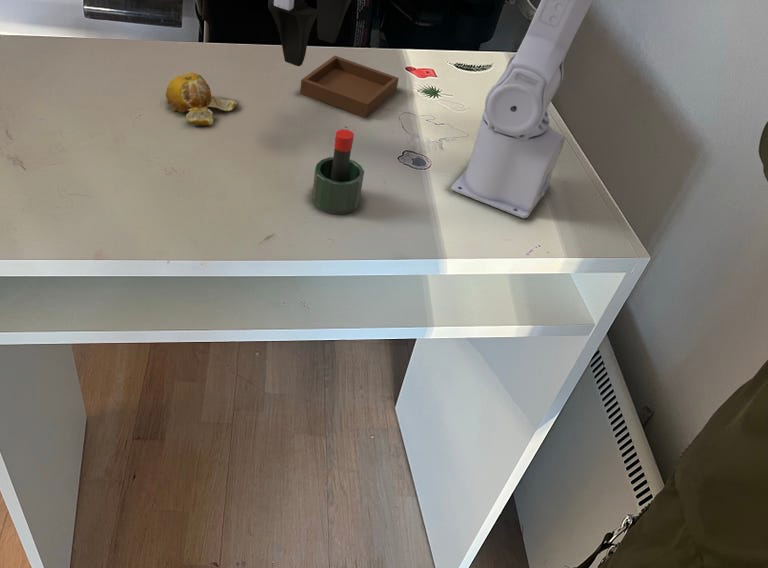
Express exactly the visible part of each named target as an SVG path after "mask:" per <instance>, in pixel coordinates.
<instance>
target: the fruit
mask: <svg viewBox="0 0 768 568" xmlns="http://www.w3.org/2000/svg"><path fill="white" fill-rule="evenodd" d="M165 98H166V100H167V101H168V103H169V104H170V108H171V109H173V111H174V112H176V111H177V112H178V113H182V114H183V113H184V112H186V111H189V112H188V113H186V115H185V118H186V121H187V122H188V123H190V124H197V125H200V126H213V123H214V122H215V121H214V119H213V116H214V112H213V111H212V110H211V109H210V107H212V108H216V109H218V110H221V111H224V112H230V111H232V110H234V109H235V108H236V107H237V105H238V103H237V101H236V100H232V99H224V98H221V97H215V96H212V91H211V88H210V86H209V84H208V83H207V81H206V80H205V78H203V76H202V75H201V74H199V73H194V72H189V73H183V74H181V75H178V76H176V77H174V78H173V79H171V80H170V82H169V83H168V85H167V87H166V91H165Z"/></svg>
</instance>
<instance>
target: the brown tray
mask: <svg viewBox="0 0 768 568" xmlns="http://www.w3.org/2000/svg"><path fill="white" fill-rule="evenodd" d="M398 84H399V77H397V76H394V75H392V74H388V73H386V72H384V71H380V70H377V69H375V68H372V67H369V66H366V65H363V64H361V63H358V62H355V61H352V60H350V59H346V58H344V57H341V56H338V55H333V56H332V57H330V58H329V59H328V60H326V61H324V62H323V63H322V64H321V65H320V66H318V67H316V68H315V69H314V70H313V71H311V72H310V73H308V74H307V75H306V76H304V77H303V78H302V79H301V81H300V90H299V91H300V92H299V94H300V95H303V96H306V97H308V98H312V99H314V100H316V101H319V102H322V103H324V104H327V105H330V106H332V107H335V108H338V109H340V110H343V111H345V112H349V113H351V114H354V115H356V116H359V117H361V118H365V119H366V118H367V117H369V115H371V114H372V113H373V112H374V111H375V110H377V109H378V108H379V107H380V106H381V105H382V104H384V103H385V102H386V101H387V100H388V99H389V98H391V96H393V95H394V94H395V93H396V92H397V89H398Z"/></svg>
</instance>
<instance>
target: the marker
mask: <svg viewBox="0 0 768 568" xmlns="http://www.w3.org/2000/svg"><path fill="white" fill-rule="evenodd" d="M354 137H355V134H354V132H353V131H351V130H349V129H345V128H344V129H338V130H337V131H336V132H335V138H334V139H335V140H334V147H333V148H334V149H333V156H332V157H333V164H332V172H331V179H330V180H332V181H337V182H346V180H347V174H348V167H349V160H350V159H351V154H352V153H351V152H352V149H353V143H354Z"/></svg>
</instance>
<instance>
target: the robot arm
mask: <svg viewBox="0 0 768 568" xmlns="http://www.w3.org/2000/svg"><path fill="white" fill-rule="evenodd" d="M352 1H353V0H316V8H314V7H311V6H308V2H306V1H305V0H268V3H267V8H268V10H269V12H270V13H271V15H272V17H273V20H274V21H275V24H276V27H277V30H278V34H279V38H280V43H281V48H282V54H283V59H284V62H285V63H288V64H290V65H293V66H295V67H301V66H302V65H303V63H304V61H305V58H306V54H307V48H308V41H309V37H310V33H311V31H312V27H313V25H314V23H315V21H316V22H317V23H316V32H317V39H318V40H321V41H324V42H326V43H329V44H334V43H336V40H337V37H338V35H339V33H340V30H341V27H342V24H343V21H344V18H345V15H346V13H347V11H348V8H349V6H350V4H352V3H351V2H352ZM592 3H593V0H540V3H539V5H538V6H537V9H536V11H535V13H534V16H533V17H532V20H531V22H530V24H529V27H528V29H527V32H526V33H525V36H524V37H523V39H522V42H521V44H520V46H519V47H518V49H517V51H516V53H514V54H513V55H512V57H510V60H509V61H508V62H507V65H506V67H505V69H504V71H503V73H502V74H501V76H500V77H499V78H498V80H497V81H496V83H495V84H494V85H493V86H492V87H491V88H490V89H489V90H488V93H487V95H486V96H485V101H484V109H483V112H482V116H481V120H480V123H479V127H478V130H477V134H476V137H475V140H474V144H473V147H472V152H471V155H470V158H469V162H468V165H467V168H466V169H465V170H464V171H463V172H462V173H461V175H460V176H459V177H458V178H457V180H456V181H454V183H453V184H452V186H451V190H452V191H453V192H455V193H458V194H460V195H463V196H465V197H468V198H471V199H473V200H476V201H477V202H480V203H483V204H486V205H488V206H491V207H493V208H496V209H498V210H502V211H503V212H505V213H508V214H511V215H514V216H516V217H518V218H521V219H527V218H528V217H529V216H530V215H531V213H532V211H533V210H534V209H535V207H536V206H537V204H538V203H539V201H540V200H541V199H542V197H544V196H545V194H546V192H547V190H548V187H549V185H550V181H551V178H552V175H553V173H554V170H555V168H556V165H557V163H558V160H559V157H560V156H561V153H562V150H563V147H564V143H565V140H566V137H565V135H563V134H561V133H559V132H558V131H557V130H554V129H553V128H552V127H551V126H550V118H549V112H548V108H549V105H550V104H551V102H552V100H553V99H554V96H555V94H556V93H557V92H558V91H559V90H560V87H561V85H562V83H563V80H564V62H565V59H566V56H567V54H568V51H569V50H570V48H571V45H572V43H573V41H574V38H575V36H576V34H577V32H578V30H579V28H580V26H581V25H582V22H583V21H584V18H585V16H586V14H587V12H588V11H589V8H590V6H591V5H592Z"/></svg>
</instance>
